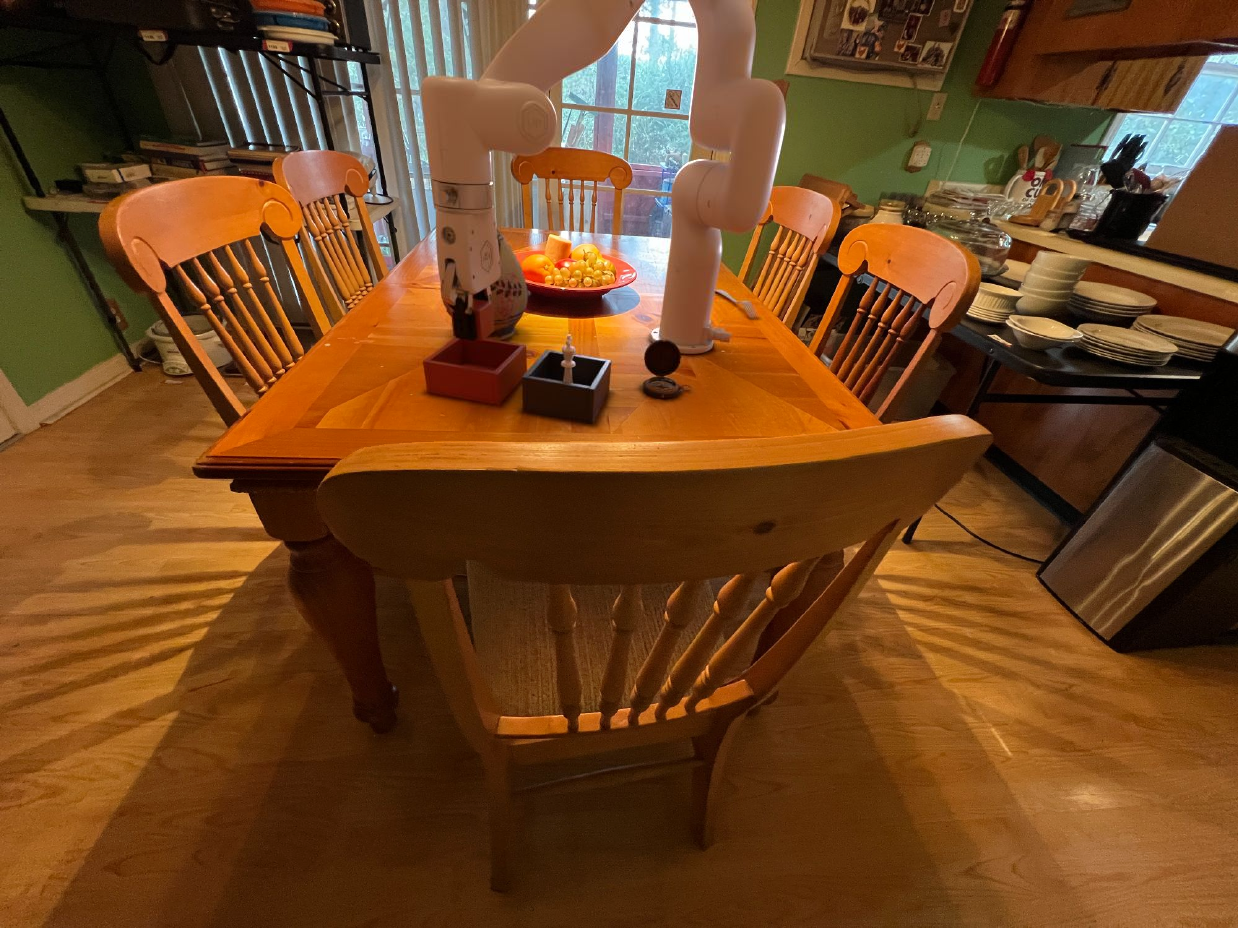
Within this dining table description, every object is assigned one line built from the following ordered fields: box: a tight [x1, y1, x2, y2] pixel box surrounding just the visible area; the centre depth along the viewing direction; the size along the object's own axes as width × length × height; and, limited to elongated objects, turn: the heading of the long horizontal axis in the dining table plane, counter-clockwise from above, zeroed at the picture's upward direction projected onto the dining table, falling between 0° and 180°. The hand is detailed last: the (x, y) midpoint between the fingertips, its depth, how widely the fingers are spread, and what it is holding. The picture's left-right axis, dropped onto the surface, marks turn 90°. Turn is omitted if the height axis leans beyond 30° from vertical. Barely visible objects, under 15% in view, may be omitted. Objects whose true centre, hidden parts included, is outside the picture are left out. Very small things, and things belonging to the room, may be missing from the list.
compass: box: [642, 339, 692, 399], centre depth 82 cm, size 8×8×7 cm
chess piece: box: [561, 334, 577, 383], centre depth 74 cm, size 5×5×10 cm
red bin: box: [422, 336, 528, 406], centre depth 79 cm, size 12×12×5 cm
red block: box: [450, 298, 494, 341], centre depth 74 cm, size 4×4×4 cm
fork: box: [715, 289, 758, 319], centre depth 126 cm, size 3×21×3 cm, turn 15°
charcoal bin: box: [521, 349, 612, 425], centre depth 76 cm, size 11×11×6 cm
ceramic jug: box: [440, 227, 529, 341], centre depth 88 cm, size 17×15×30 cm
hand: (474, 331), depth 75 cm, fingers closed on red block, 4 cm apart
